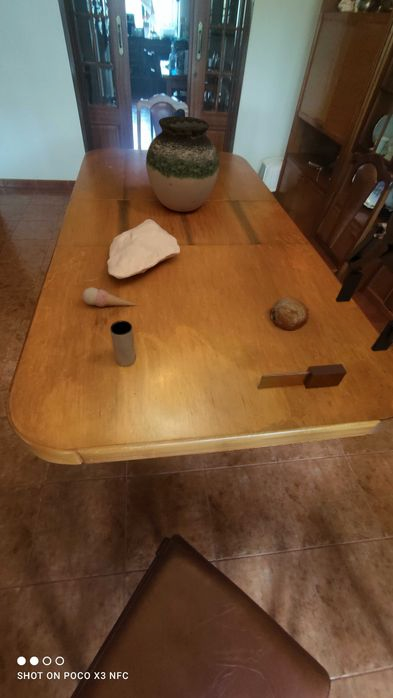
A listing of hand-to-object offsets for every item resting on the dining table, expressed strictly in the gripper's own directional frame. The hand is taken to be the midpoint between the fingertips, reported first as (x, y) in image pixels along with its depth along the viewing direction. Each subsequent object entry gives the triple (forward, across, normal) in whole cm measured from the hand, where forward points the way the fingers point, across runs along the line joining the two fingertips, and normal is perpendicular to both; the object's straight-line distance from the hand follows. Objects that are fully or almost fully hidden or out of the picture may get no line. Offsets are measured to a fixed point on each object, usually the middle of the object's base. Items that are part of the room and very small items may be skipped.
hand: (359, 323), depth 60 cm
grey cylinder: (+19, -12, -45) cm, 50 cm away
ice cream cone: (+19, -33, -49) cm, 62 cm away
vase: (+19, -97, -21) cm, 101 cm away
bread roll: (+19, -23, 0) cm, 30 cm away
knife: (+19, 0, -6) cm, 20 cm away
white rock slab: (+19, -55, -39) cm, 70 cm away
